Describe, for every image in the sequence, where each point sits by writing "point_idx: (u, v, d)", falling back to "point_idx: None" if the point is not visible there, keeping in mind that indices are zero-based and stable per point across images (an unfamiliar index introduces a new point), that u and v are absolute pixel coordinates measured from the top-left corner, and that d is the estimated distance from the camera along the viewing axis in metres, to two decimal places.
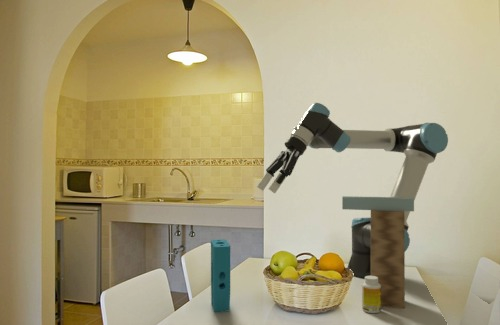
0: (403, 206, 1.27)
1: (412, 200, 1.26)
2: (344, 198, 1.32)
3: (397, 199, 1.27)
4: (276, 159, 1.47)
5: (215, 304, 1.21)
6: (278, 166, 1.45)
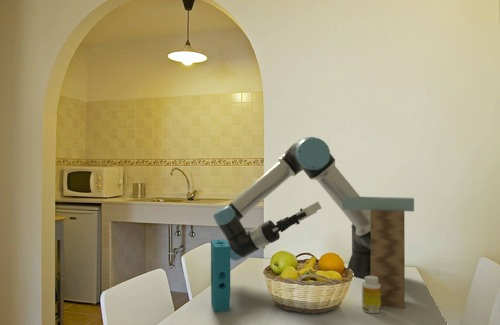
0: (403, 206, 1.27)
1: (412, 200, 1.26)
2: (344, 198, 1.32)
3: (397, 199, 1.27)
4: None
5: (215, 304, 1.21)
6: None
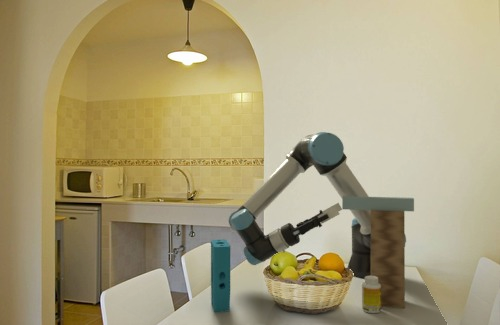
0: (403, 206, 1.27)
1: (412, 200, 1.26)
2: (344, 198, 1.32)
3: (397, 199, 1.27)
4: None
5: (215, 304, 1.21)
6: None
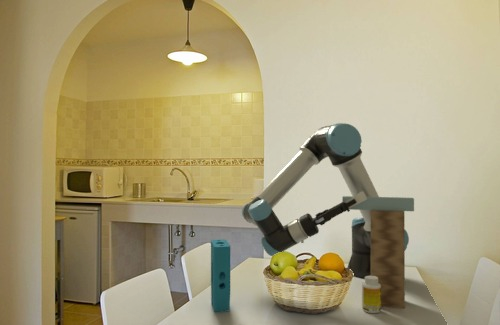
0: (403, 206, 1.27)
1: (412, 200, 1.26)
2: (344, 198, 1.32)
3: (397, 199, 1.27)
4: None
5: (215, 304, 1.21)
6: None
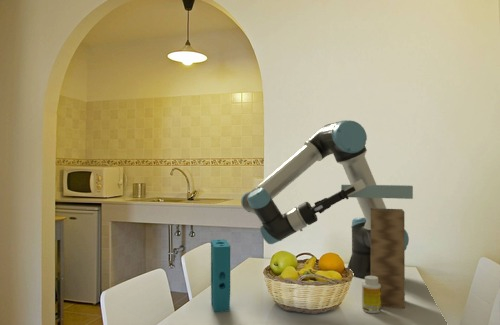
0: (401, 193, 1.27)
1: (411, 187, 1.26)
2: (343, 186, 1.32)
3: (396, 186, 1.27)
4: None
5: (215, 304, 1.21)
6: None
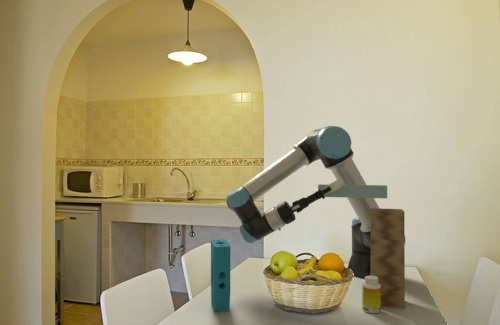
0: (376, 193, 1.29)
1: (385, 187, 1.28)
2: (320, 186, 1.34)
3: (371, 186, 1.29)
4: None
5: (215, 304, 1.21)
6: None
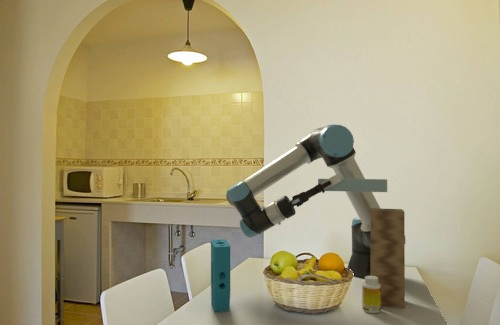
0: (376, 187, 1.29)
1: (385, 181, 1.28)
2: (320, 180, 1.34)
3: (371, 180, 1.29)
4: None
5: (215, 304, 1.21)
6: None
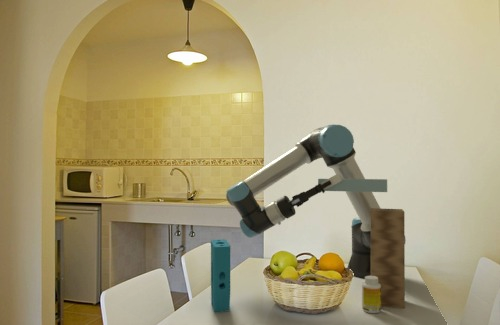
0: (376, 187, 1.29)
1: (385, 181, 1.28)
2: (320, 180, 1.34)
3: (371, 180, 1.29)
4: None
5: (215, 304, 1.21)
6: None
